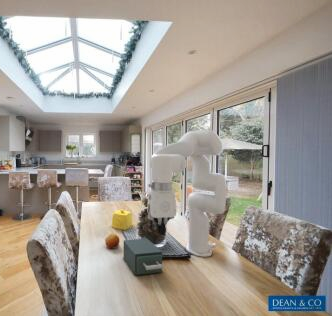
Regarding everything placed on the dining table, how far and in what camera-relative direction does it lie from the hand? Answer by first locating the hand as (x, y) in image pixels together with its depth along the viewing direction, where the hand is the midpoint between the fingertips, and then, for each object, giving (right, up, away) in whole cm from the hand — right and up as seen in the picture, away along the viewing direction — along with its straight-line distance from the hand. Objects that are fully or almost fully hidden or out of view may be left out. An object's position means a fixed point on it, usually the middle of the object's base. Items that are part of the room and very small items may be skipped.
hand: (160, 233), depth 79 cm
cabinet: (-4, -21, +17) cm, 27 cm away
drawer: (-3, -20, +13) cm, 24 cm away
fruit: (-16, -21, +36) cm, 44 cm away
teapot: (-6, -20, +69) cm, 72 cm away
